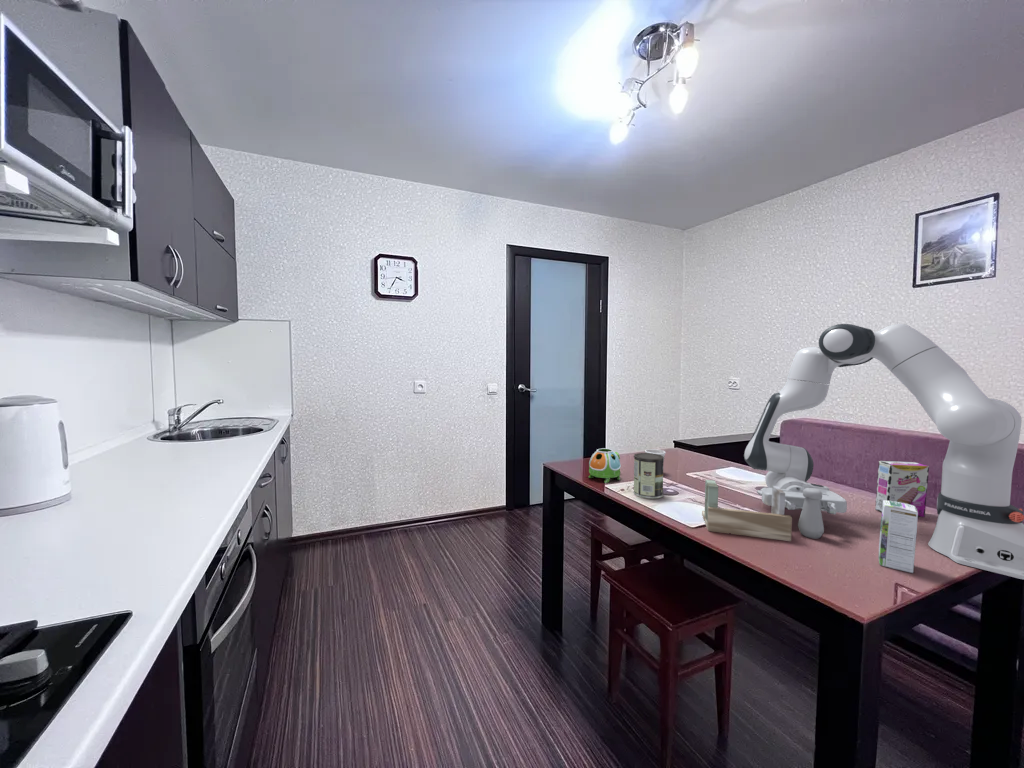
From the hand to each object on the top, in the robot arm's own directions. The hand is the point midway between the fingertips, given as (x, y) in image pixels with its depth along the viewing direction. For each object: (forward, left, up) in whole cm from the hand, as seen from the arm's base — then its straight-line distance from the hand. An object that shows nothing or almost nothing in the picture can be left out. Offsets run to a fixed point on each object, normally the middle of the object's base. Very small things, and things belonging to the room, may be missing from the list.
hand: (812, 509), depth 107 cm
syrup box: (-18, +1, -8) cm, 19 cm away
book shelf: (+13, +10, -8) cm, 18 cm away
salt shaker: (0, 0, -8) cm, 8 cm away
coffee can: (+46, +10, -8) cm, 48 cm away
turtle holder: (+69, +8, -8) cm, 71 cm away
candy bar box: (-8, -44, -8) cm, 45 cm away
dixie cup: (+62, -14, -8) cm, 64 cm away
